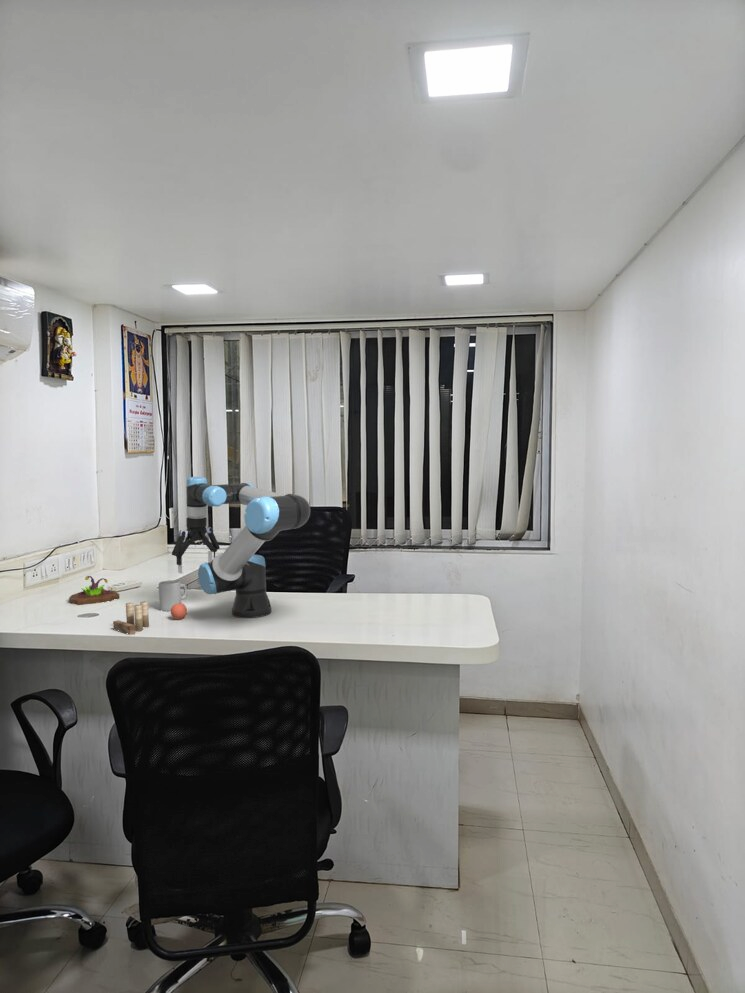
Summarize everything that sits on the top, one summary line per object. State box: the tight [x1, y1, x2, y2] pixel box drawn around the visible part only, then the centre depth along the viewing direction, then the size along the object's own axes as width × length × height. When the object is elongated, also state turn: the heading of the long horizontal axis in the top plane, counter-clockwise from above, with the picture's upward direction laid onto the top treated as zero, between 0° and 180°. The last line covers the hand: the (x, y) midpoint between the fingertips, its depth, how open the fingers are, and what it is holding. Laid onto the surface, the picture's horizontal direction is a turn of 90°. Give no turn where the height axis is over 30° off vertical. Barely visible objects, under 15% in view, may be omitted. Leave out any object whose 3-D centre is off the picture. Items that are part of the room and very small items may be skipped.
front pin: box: [139, 601, 150, 628], centre depth 238 cm, size 3×3×9 cm
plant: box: [68, 575, 120, 606], centre depth 288 cm, size 20×20×11 cm
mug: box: [158, 579, 188, 612], centre depth 267 cm, size 12×8×11 cm
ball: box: [170, 602, 188, 620], centre depth 248 cm, size 6×6×6 cm
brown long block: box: [112, 619, 137, 635], centre depth 232 cm, size 12×2×3 cm, turn 48°
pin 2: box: [134, 604, 144, 632], centre depth 233 cm, size 3×3×9 cm
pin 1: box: [125, 602, 135, 625], centre depth 237 cm, size 3×3×9 cm
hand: (196, 570), depth 256 cm, fingers open, 13 cm apart
